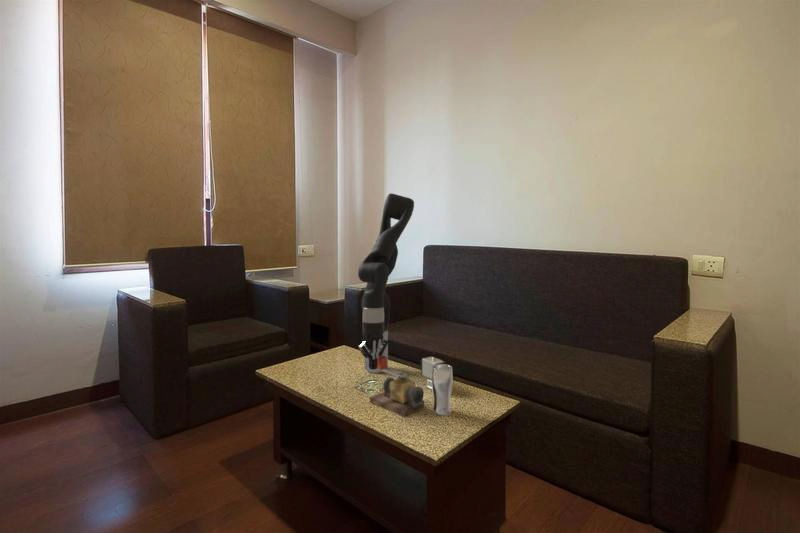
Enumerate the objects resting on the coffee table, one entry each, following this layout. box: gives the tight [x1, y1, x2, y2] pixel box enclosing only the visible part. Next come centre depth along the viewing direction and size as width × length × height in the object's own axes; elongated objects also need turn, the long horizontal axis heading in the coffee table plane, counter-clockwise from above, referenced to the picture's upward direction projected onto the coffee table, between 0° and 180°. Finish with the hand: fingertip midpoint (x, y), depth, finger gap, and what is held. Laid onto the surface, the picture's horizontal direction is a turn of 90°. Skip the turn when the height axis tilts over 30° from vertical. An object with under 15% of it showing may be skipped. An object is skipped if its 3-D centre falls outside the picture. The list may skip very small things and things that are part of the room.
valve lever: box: [377, 356, 408, 379], centre depth 148 cm, size 14×3×5 cm, turn 45°
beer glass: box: [430, 363, 454, 416], centre depth 140 cm, size 7×7×15 cm
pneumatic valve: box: [419, 356, 447, 390], centre depth 160 cm, size 6×12×12 cm, turn 34°
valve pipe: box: [369, 376, 425, 417], centre depth 145 cm, size 17×10×10 cm, turn 47°
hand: (373, 368), depth 149 cm, fingers closed
